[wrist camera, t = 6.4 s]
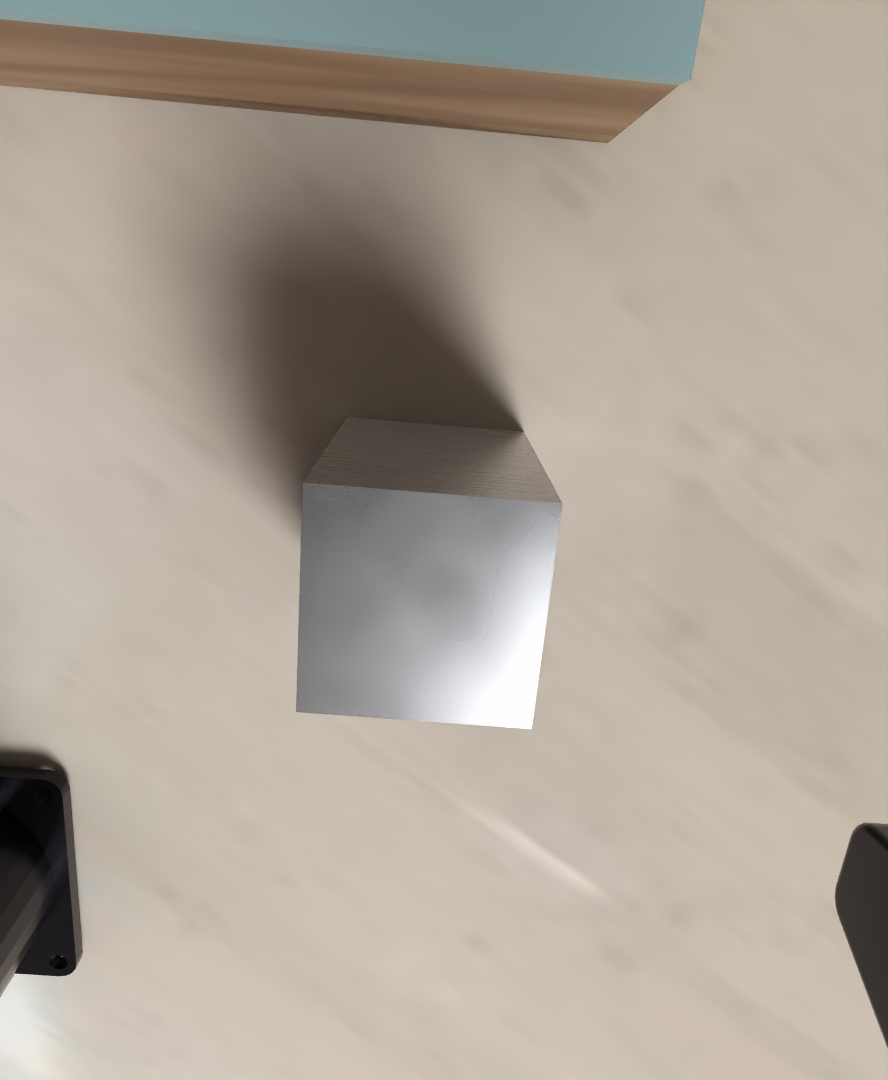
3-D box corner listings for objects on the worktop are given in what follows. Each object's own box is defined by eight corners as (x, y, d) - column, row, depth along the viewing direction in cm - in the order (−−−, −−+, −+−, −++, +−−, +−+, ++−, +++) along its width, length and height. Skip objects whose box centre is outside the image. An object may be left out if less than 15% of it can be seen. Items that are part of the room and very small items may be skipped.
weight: (504, 594, 19) (531, 729, 13) (340, 581, 19) (295, 711, 13) (523, 431, 18) (562, 503, 12) (347, 417, 18) (302, 482, 12)
